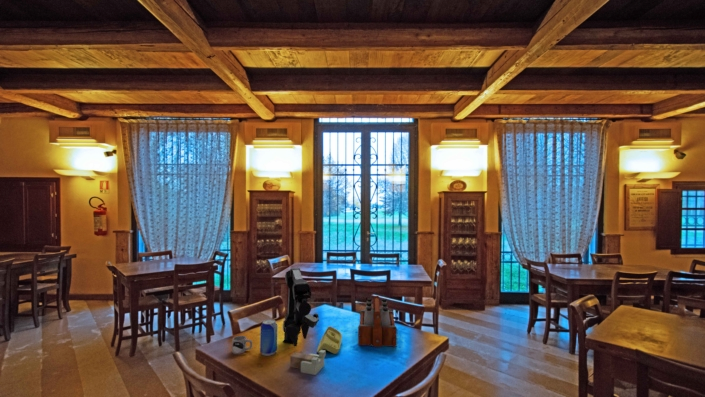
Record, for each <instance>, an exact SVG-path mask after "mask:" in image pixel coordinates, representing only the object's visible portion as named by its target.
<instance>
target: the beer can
mask: <svg viewBox="0 0 705 397" xmlns="http://www.w3.org/2000/svg"><path fill="white" fill-rule="evenodd" d="M259 336H260V338H259V339H260V340H259V341H260V342H259V343H260V344H259V347H260V348H259V349H260V351H259V352H260V353H261V355H262V356H267V357H270V356H273V355H275V354H276V352H277V350H278V323H277V321H276V320H275V319H271V318H269V319H264V320H263V321H262V323H261V325H260V335H259Z"/></svg>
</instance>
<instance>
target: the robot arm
mask: <svg viewBox="0 0 705 397" xmlns="http://www.w3.org/2000/svg"><path fill="white" fill-rule="evenodd" d="M284 280H285V284H286V285H287V288H288V299H287V312H286V314H285V316H284V320H283V323H282V331H283V333H284V335H283V336H284V338H283V340H282V342H283V343H287V344H293V346H294V347H297V346H298V340H299V335H300V334H302V337H303V339H304V340H305V339H307V337H308V333H309V330H310V328H312V329H313V328H315V327H316V326H317V324H318V322H319V321H320V318H319V314H318V313H316V312H315V313H314V314H310V313H311V311H312V305H311V304H310V303H309V299H311V298H312V289H311V286H310V284H309V283H308V281H307V280H305V279H304V278H303V275H302V270H301V268H300V267H293V268H290V269H289V270H287V271H286V272H285V275H284Z"/></svg>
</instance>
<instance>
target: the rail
mask: <svg viewBox="0 0 705 397" xmlns="http://www.w3.org/2000/svg"><path fill="white" fill-rule="evenodd" d="M313 357H317V356H312V355H309V354H305V353H299V352H293V353H292V354H291V355H290V359H289V360H290V362H289V364H290V365H289V366H290V368H293V369H298V370H299V369H300V370H301V362H302V361H307V362H311V359H312V358H313Z"/></svg>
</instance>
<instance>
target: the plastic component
mask: <svg viewBox="0 0 705 397" xmlns="http://www.w3.org/2000/svg"><path fill="white" fill-rule="evenodd" d="M342 338H343V335H342V333H341V332H340V330H338V329H336V328H334V327H332V326H328V327H327V328H326V330H325V331H324V333H323V335H322V337H321V339H320V341H319V342H318V346H317V348H316V353H318V354H319V351H320V350H326V351H328V352H330V353H332V354H334V355H335V354H338V353H339V351H340V349H341V344H342Z"/></svg>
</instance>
